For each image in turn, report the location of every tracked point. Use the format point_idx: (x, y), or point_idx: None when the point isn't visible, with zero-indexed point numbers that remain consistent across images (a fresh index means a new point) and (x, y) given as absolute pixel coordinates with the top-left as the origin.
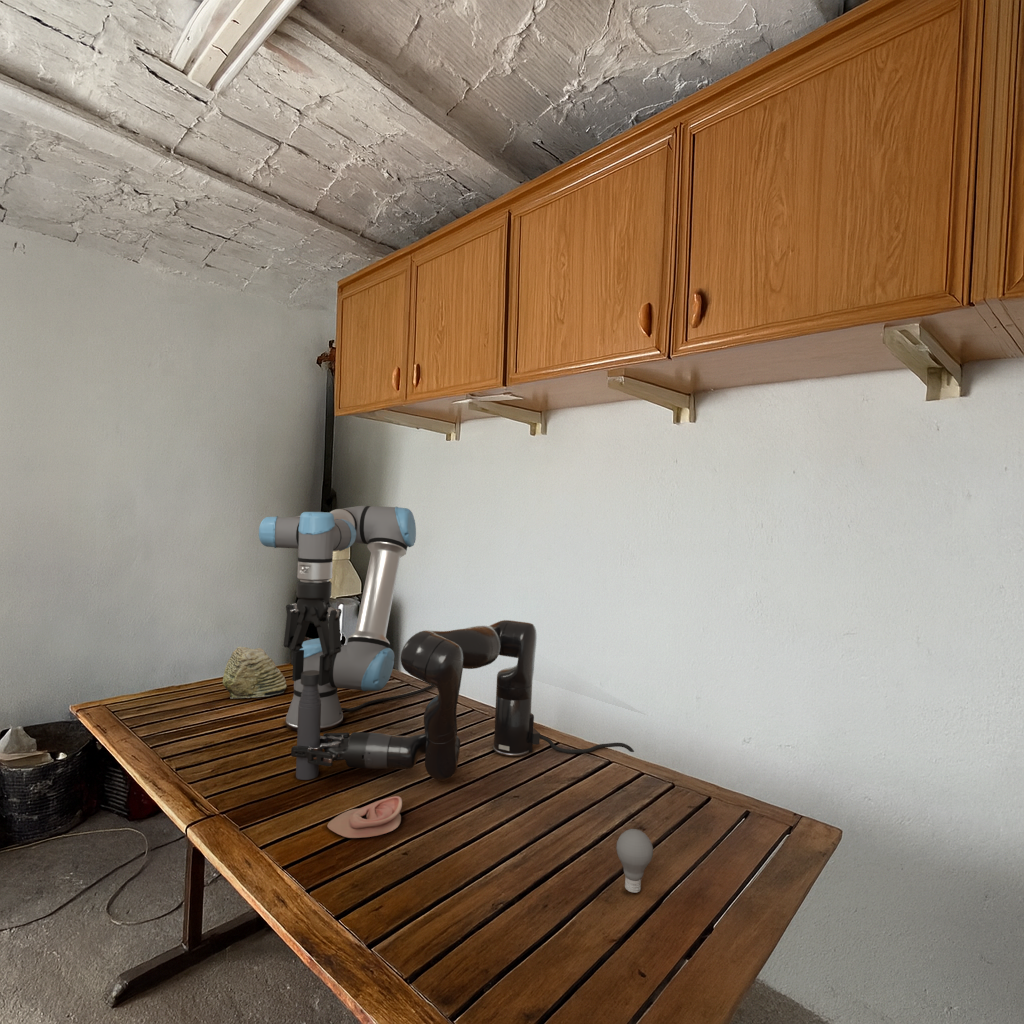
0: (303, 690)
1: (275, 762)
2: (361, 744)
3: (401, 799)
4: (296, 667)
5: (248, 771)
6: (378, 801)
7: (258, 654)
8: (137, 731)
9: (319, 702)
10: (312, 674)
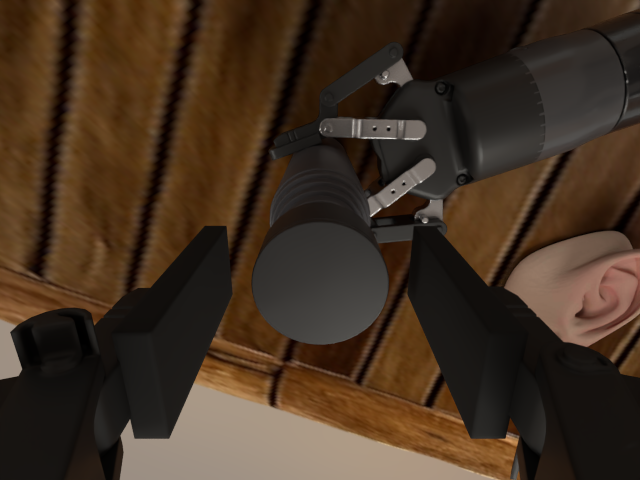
0: None
1: (191, 137)
2: (521, 162)
3: None
4: (210, 333)
5: (178, 210)
6: (600, 272)
7: None
8: None
9: (369, 215)
10: (353, 310)
